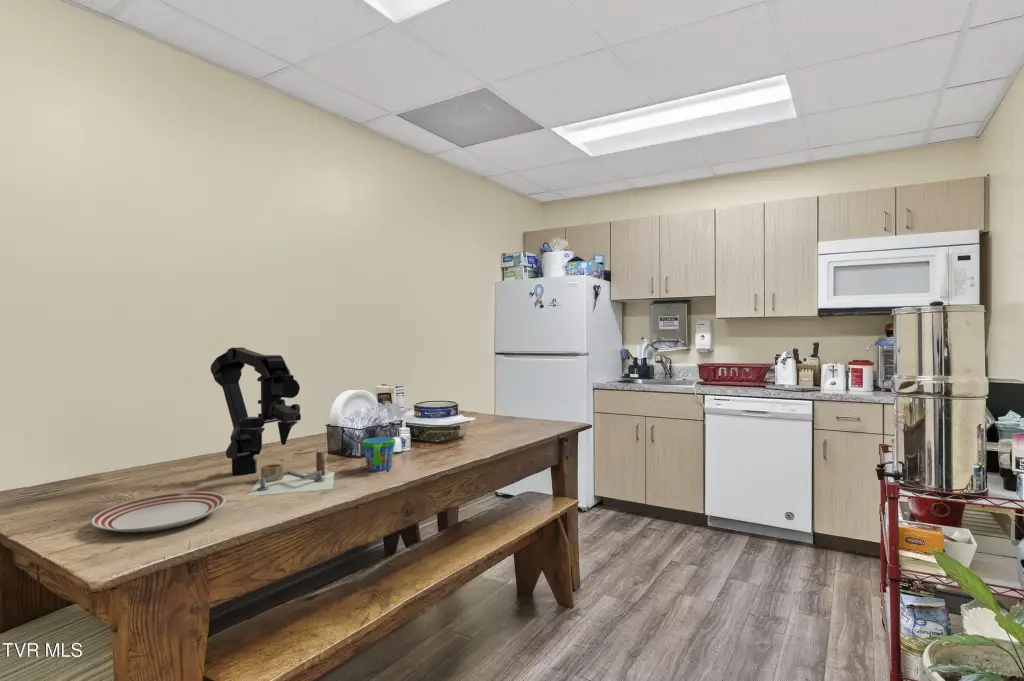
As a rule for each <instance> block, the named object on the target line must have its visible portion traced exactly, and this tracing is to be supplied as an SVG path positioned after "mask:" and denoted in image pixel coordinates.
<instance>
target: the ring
mask: <svg viewBox="0 0 1024 681" xmlns="http://www.w3.org/2000/svg"><path fill="white" fill-rule="evenodd" d="M283 472H284V464H282V463H271V464H270V463H269V464H265V465H261V467H260V478H261V479H263V478H266V477H270V476H273V475H276V474H279V473H283ZM282 479H283V476H281V477H278V478H275V479H272V480H269V481H266V482H273V481H279V480H282Z"/></svg>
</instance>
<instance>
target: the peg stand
mask: <svg viewBox="0 0 1024 681" xmlns="http://www.w3.org/2000/svg"><path fill="white" fill-rule="evenodd" d="M315 454H316V455H315V458H316V462H315V463H316V470H315V472H316V471H319V470H321V471H322V478H324V479H326V478H330V477H333V476H334V477H335V473H332V472H333V471H325V470H326V469H325V466H326V465H325V464H326V463H325V462H326V461H325V451H317V452H316V453H315ZM308 479H314V480H315V479H318V478H317V475H315V476H312V477H309V478H308Z"/></svg>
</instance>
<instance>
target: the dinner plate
mask: <svg viewBox="0 0 1024 681" xmlns="http://www.w3.org/2000/svg"><path fill="white" fill-rule="evenodd" d="M225 503H226V497H225V496H224V495H223V494H220V493H218V492H213V491H211V492H210V491H185V492H184V491H183V492H171V493H164V494H157V495H152V496H146V497H142V498H138V499H133V500H130V501H126V502H122V503H120V504H117V505H114V506H110V507H109V508H107V509H106V508H105V509H104V510H102V511H100V512H99V513H97V514H96V515H94V516H93V517H92V518H91V521H90V524H91V525H92V527H95V528H96V529H101V530H104V531H105V530H106V531H111V532H112V531H113V532H120V533H129V532H142V533H150V532H149V531H153V532H159V531H158V530H160V531H166V530H169V528H171V529H175V528H179V527H183V526H186V525H189V524H191V523H194V522H197V521H199V520H201V519H202V518H205V517H206V516H209V515H211V514H212V513H215V512H216V511H218V510H219V509H220V508H221V507H222V506H223V505H225ZM198 519H199V520H198ZM196 520H197V521H196ZM182 525H183V526H182ZM178 526H179V527H178ZM174 527H175V528H174ZM165 529H166V530H165Z"/></svg>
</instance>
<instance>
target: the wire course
mask: <svg viewBox="0 0 1024 681" xmlns="http://www.w3.org/2000/svg"><path fill="white" fill-rule="evenodd" d="M331 472H332V473H334V474H335V471H331ZM315 475H317V478H318V479H315V480H314V479H308V478H309V477H312V476H315ZM281 476H283V479H282V480H279V481H273V482H266V481H269V480H272V479H275V478H278V477H281ZM334 479H335V475H334V476H333V477H330V478H326V479H324V478H322V471H321V470H319V471H316V470H315V471H313V472H311V473H304V474H301V473H298V472H295V471H293V470H292V471H291V470H286V471H283V473H279V474H276V475H273V476H270V477H266V478H263V479H261V477H259V478H258V480H257V482H255V484H254V486H253V488H252V489H251V491H249V493H248V495H247V496H248V497H249V496H251V497H252V496H261V495H262V496H264V495H275V494H277V495H278V494H287V493H300V492H301V493H302V492H310V491H321V490H323V491H325V490H333V488H334Z"/></svg>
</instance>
